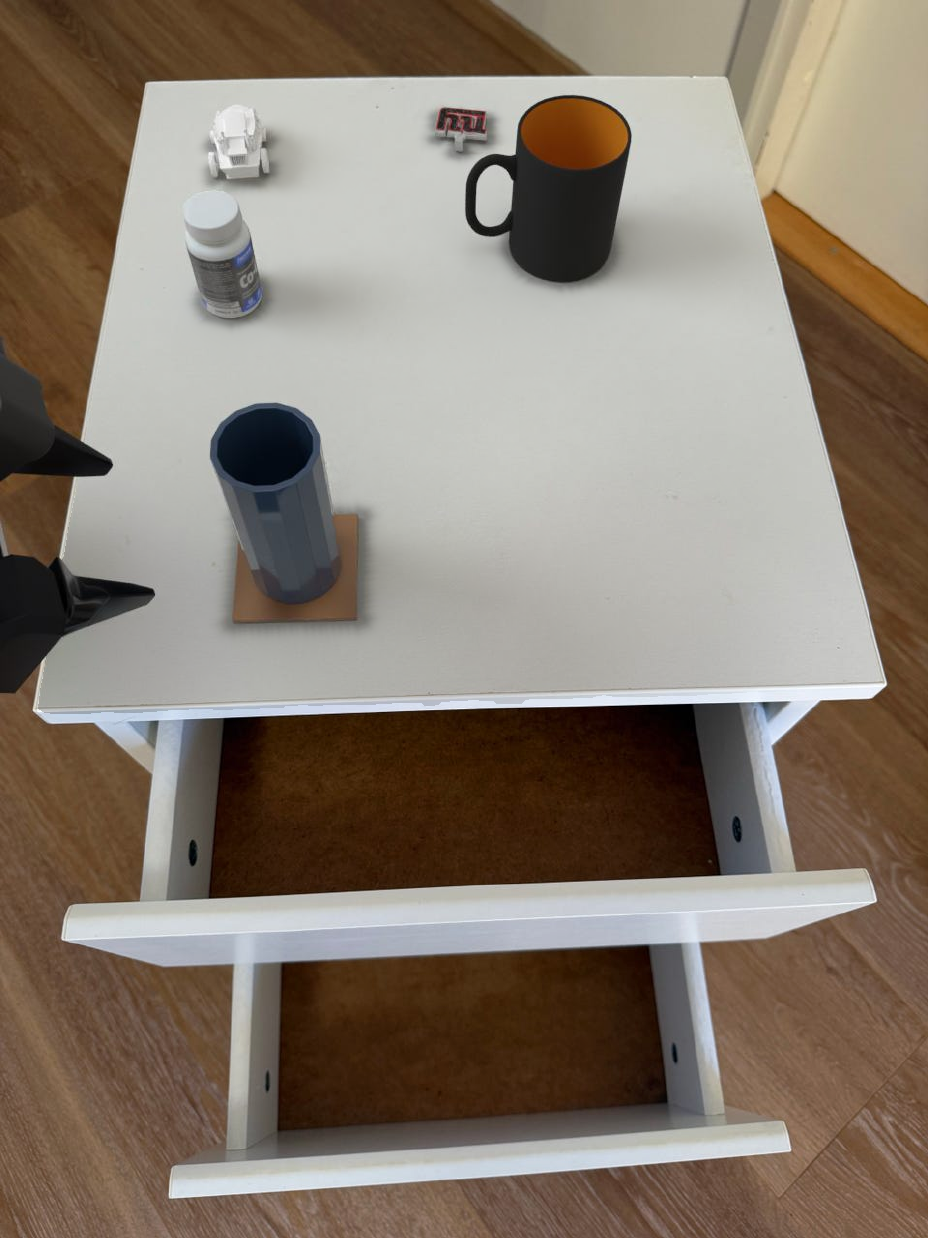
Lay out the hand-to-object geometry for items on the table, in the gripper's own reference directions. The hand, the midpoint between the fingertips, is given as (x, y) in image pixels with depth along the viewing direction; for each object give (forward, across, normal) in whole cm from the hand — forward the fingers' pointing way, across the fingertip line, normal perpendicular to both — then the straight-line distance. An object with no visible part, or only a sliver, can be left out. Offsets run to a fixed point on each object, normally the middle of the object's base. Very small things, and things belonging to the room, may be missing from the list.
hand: (129, 530), depth 55 cm
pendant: (+32, +36, -18) cm, 52 cm away
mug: (+33, +21, -18) cm, 43 cm away
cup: (+13, 0, +1) cm, 13 cm away
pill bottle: (+16, +25, -1) cm, 30 cm away
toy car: (+19, +40, -5) cm, 45 cm away
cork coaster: (+13, 0, +1) cm, 13 cm away
